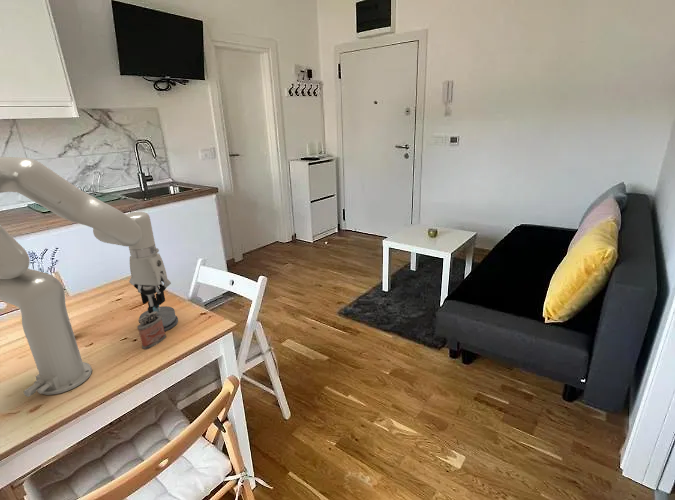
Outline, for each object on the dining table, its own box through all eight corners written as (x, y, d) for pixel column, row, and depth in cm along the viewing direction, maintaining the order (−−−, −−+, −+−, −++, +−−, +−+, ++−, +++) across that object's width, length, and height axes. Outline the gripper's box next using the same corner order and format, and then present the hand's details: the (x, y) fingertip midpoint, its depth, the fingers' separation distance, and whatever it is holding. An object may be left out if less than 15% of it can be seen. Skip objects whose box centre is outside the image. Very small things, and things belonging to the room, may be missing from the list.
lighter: (161, 334, 125) (155, 307, 121) (168, 336, 123) (162, 309, 120) (139, 347, 118) (132, 319, 115) (147, 350, 117) (140, 321, 113)
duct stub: (164, 335, 124) (162, 324, 123) (131, 332, 126) (129, 322, 125) (185, 316, 135) (183, 306, 134) (154, 314, 137) (152, 304, 136)
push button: (150, 307, 132) (143, 280, 128) (166, 305, 132) (160, 278, 129) (144, 316, 125) (137, 289, 122) (161, 314, 126) (154, 287, 123)
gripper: (174, 248, 123) (183, 299, 130) (128, 246, 127) (139, 295, 133) (159, 256, 116) (170, 309, 123) (111, 254, 120) (123, 306, 126)
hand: (154, 301), depth 128 cm, fingers closed on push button, 4 cm apart
